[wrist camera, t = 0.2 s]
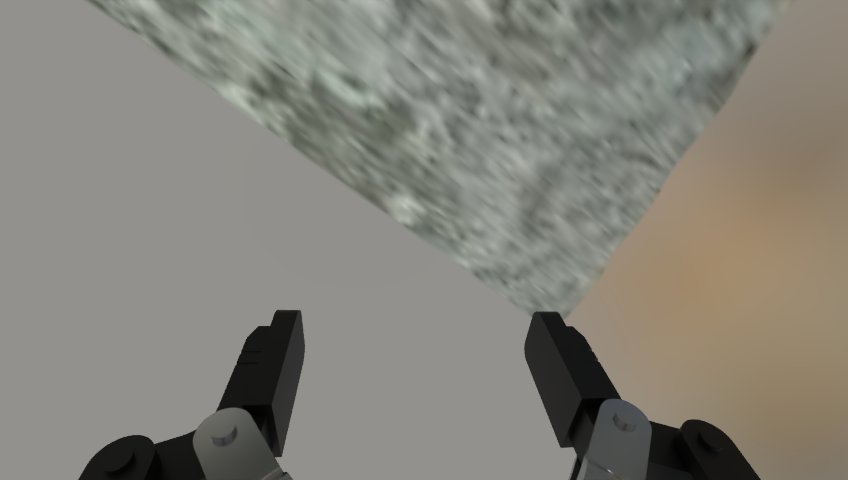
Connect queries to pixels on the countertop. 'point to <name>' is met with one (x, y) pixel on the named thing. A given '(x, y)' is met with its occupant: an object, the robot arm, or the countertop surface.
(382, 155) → the countertop surface
